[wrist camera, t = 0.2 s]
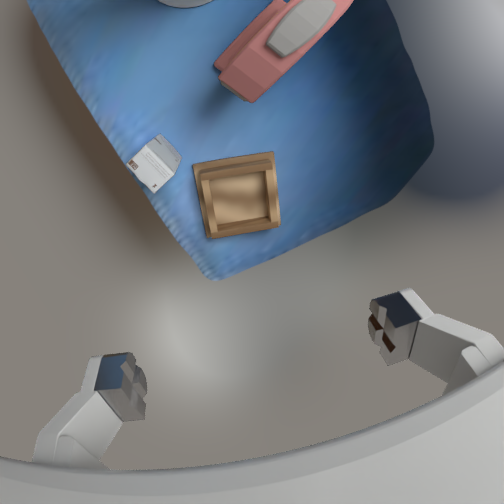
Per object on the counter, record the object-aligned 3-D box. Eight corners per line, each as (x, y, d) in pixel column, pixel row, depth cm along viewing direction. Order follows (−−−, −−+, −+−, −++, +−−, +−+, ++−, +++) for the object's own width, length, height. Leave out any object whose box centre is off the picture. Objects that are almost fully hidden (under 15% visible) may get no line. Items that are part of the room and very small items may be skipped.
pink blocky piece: (245, 109, 50) (273, 119, 31) (202, 77, 46) (202, 65, 27) (325, 23, 43) (390, -4, 25) (285, -11, 39) (332, -57, 21)
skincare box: (183, 156, 52) (178, 174, 41) (164, 174, 53) (155, 196, 42) (159, 131, 49) (147, 142, 39) (140, 149, 50) (124, 165, 39)
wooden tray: (192, 164, 53) (192, 169, 49) (272, 151, 54) (277, 155, 50) (206, 236, 60) (207, 245, 56) (279, 223, 61) (284, 231, 57)
